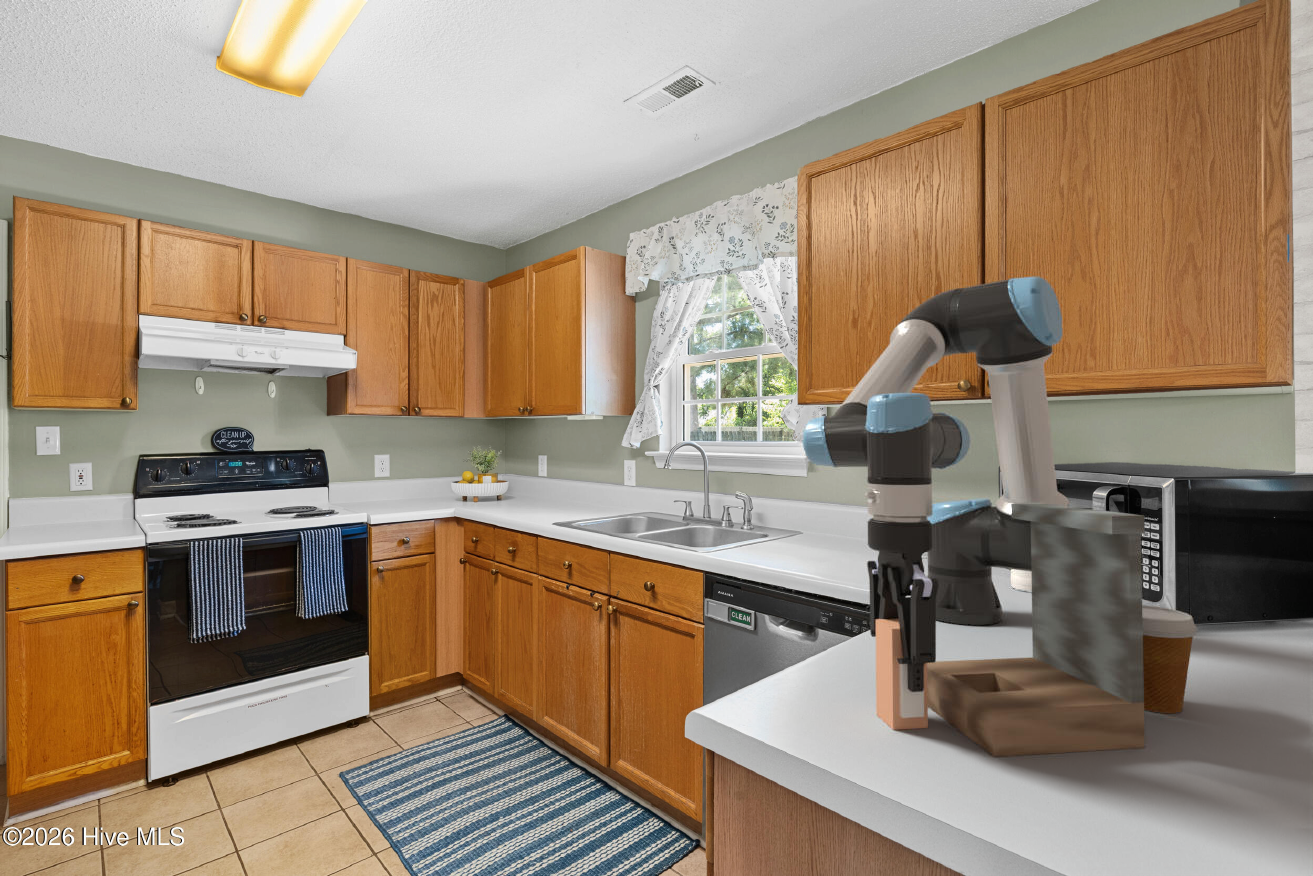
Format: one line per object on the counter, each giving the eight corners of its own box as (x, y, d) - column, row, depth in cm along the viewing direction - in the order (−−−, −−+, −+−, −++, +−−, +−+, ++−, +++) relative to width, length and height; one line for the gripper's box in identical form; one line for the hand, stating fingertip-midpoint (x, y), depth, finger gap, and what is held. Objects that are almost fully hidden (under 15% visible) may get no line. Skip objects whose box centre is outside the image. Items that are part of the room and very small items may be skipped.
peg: (876, 714, 81) (875, 619, 82) (909, 713, 82) (908, 618, 82) (893, 729, 77) (892, 629, 77) (927, 727, 78) (926, 627, 78)
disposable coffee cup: (1100, 704, 84) (1098, 612, 85) (1115, 685, 91) (1114, 600, 91) (1194, 726, 78) (1192, 626, 78) (1203, 704, 84) (1201, 612, 85)
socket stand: (916, 698, 87) (914, 504, 87) (1040, 692, 89) (1038, 503, 89) (997, 759, 70) (994, 518, 70) (1148, 749, 72) (1144, 515, 72)
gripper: (842, 511, 88) (843, 683, 88) (905, 527, 71) (907, 741, 70) (894, 510, 89) (896, 680, 89) (969, 525, 72) (972, 737, 71)
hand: (901, 707), depth 80 cm, fingers closed on peg, 4 cm apart
